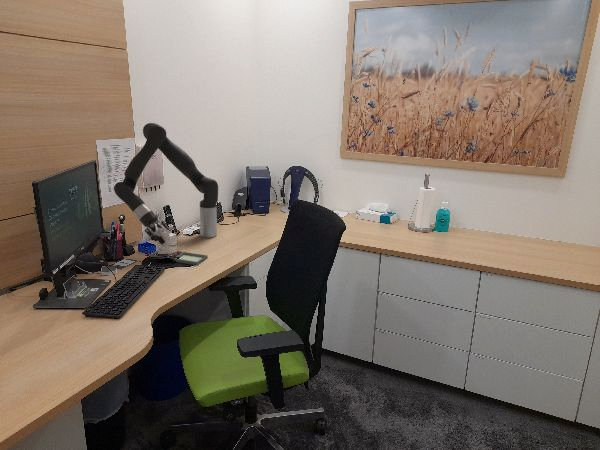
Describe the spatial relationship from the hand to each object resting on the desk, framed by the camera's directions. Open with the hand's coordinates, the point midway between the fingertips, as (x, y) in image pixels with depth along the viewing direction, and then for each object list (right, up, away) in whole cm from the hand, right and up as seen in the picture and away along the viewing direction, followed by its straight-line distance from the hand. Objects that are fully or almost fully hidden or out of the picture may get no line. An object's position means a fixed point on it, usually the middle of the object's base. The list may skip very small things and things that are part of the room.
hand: (167, 241), depth 213 cm
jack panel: (+5, -8, +1) cm, 10 cm away
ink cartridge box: (-1, -8, +2) cm, 8 cm away
